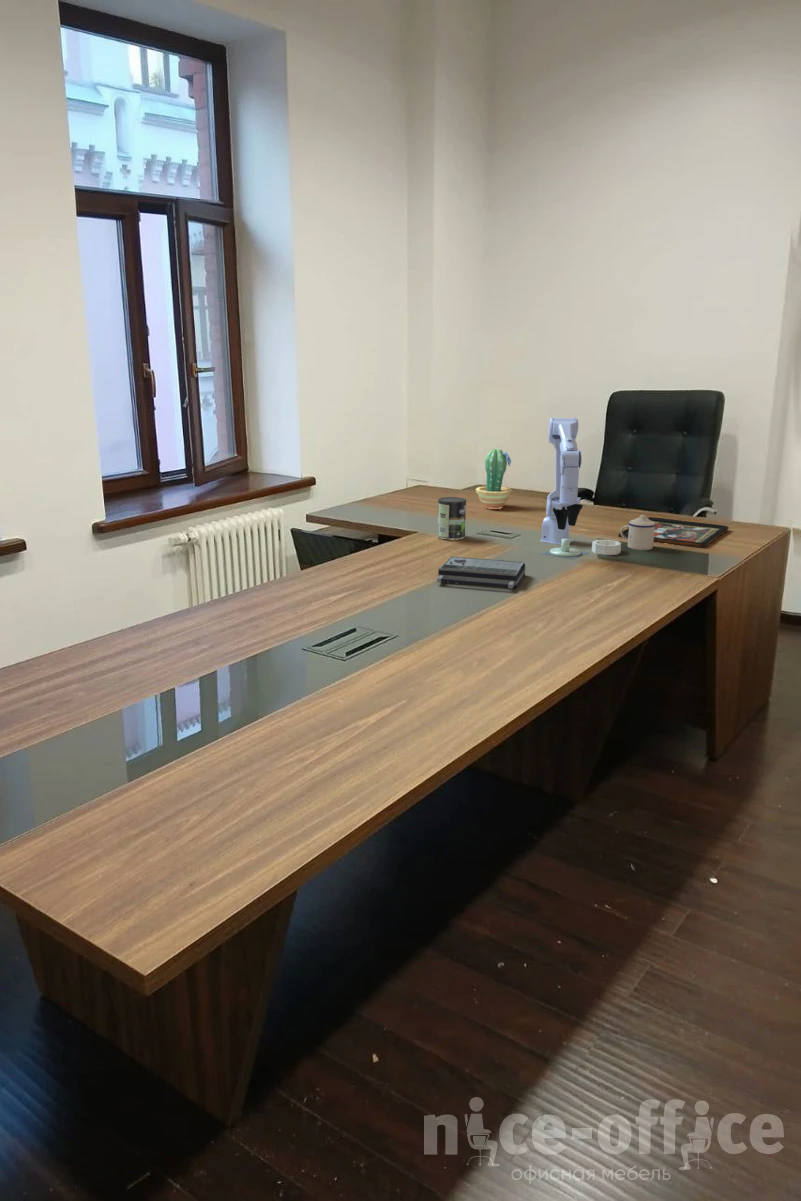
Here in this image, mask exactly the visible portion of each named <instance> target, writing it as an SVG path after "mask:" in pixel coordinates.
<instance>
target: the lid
mask: <svg viewBox="0 0 801 1201" xmlns="http://www.w3.org/2000/svg"><path fill="white" fill-rule="evenodd" d="M570 540H571V539H570V538H569V539H562V542H561V544H560V547H553V548H550V549H549V551H550V554H552V555H554V556H560V557H576V556H579V555H580V554H581V550H580V549H578V548H573V547H570V546H571V545H570V544H571V542H570ZM554 556H553V557H554ZM560 557H559V558H560Z"/></svg>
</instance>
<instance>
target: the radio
mask: <svg viewBox="0 0 801 1201" xmlns="http://www.w3.org/2000/svg"><path fill="white" fill-rule="evenodd" d="M525 575H526V563H525V562H524V561H514V560H504V559H503V560H500V559H489V558H477V557H463V556H462V557H461V556H450V557H449V558H448V559H447V560H446V561H445V562H444V563H443V564H442V565H441V566H439V567H438V571H437V578H436V583H446V584H450V583H451V584H456V585H458V584H463V585H474V586H475V585H476V586H486V587H497V588H508V589H517V588H518V587H519V585H520V583H521V582H522V580H523V579H524V577H525Z"/></svg>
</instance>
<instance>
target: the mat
mask: <svg viewBox="0 0 801 1201" xmlns="http://www.w3.org/2000/svg"><path fill="white" fill-rule="evenodd" d="M580 551H581V550H580ZM587 554H590V552H587V551H581V554H580V555H579V556H576V557H560V556H554V555H552V554H550V550H548V551H545V552H542V553H541V555H542V556H543V555H544V556H550V557H555V558H562V559H568V560H576V559H577V558H581V557H582V556H585V555H587Z"/></svg>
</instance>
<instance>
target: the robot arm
mask: <svg viewBox="0 0 801 1201" xmlns="http://www.w3.org/2000/svg"><path fill="white" fill-rule="evenodd" d="M578 432H579V419H578V418H577V417H550V418H549V421H548V443H550V444H552V445H553V448H554V490H553V491H551V492H550V493H549V494H548V496H547V497H546V507H545V510H546V511H545V513H546V516H545V517H544V518H543V520H542V524H541V539H540V542H543V543H549V544H555V545H561V542H562V539H570V532H571V531H570V530H571V526H572V527H575V526H576V523H577V520H578V517H579V514H580V512H581V511H582V509H583V506H584V505H583V504H581V497H578V492H579V491H578V490H579V489H578V488H579V476H580V472H579V471H580V468H581V466H582V452H581V450H579V448H578V444H577V441H576V439H577V435H578ZM572 542H574V540H573V539H570V543H572Z"/></svg>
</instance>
